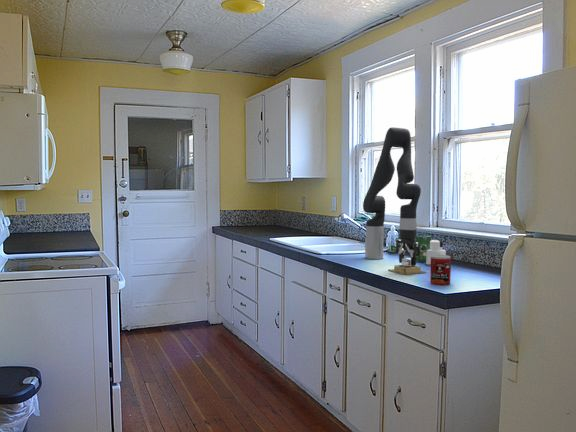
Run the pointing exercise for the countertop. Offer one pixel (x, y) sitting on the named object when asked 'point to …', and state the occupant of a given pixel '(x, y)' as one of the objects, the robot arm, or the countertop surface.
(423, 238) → the coffee box
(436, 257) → the canned food
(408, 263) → the cylinder
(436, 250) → the medicine bottle
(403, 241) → the robot arm
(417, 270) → the collar
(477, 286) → the countertop surface
